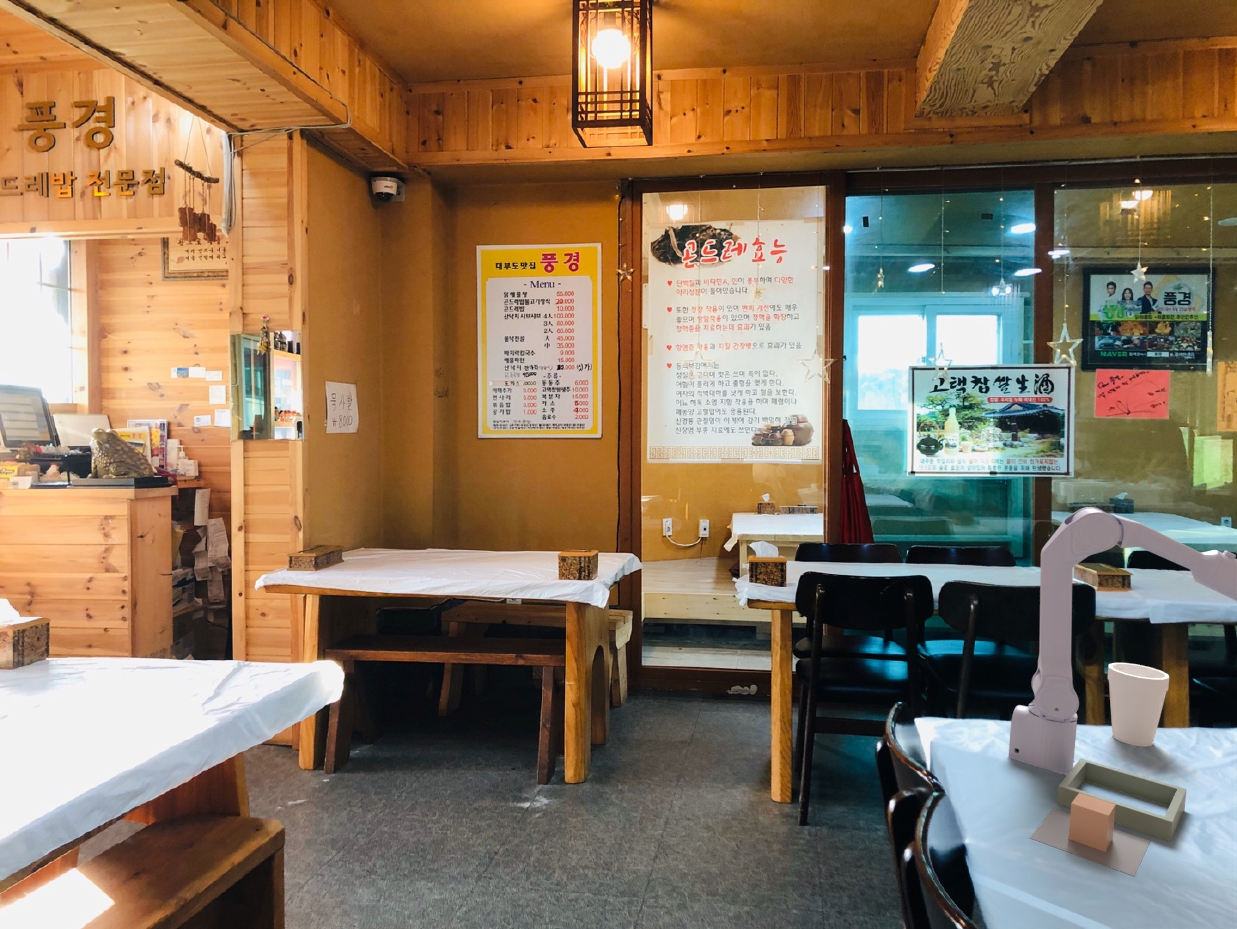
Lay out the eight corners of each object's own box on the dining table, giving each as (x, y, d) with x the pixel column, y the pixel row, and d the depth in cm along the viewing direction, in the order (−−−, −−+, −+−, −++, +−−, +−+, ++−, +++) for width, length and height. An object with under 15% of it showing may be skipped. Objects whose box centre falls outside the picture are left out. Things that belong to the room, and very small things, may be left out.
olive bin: (1056, 808, 116) (1058, 785, 116) (1079, 779, 126) (1080, 758, 126) (1170, 846, 106) (1172, 822, 106) (1184, 811, 117) (1186, 789, 116)
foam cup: (1154, 734, 147) (1159, 667, 146) (1170, 754, 138) (1177, 682, 137) (1096, 726, 150) (1102, 660, 149) (1109, 744, 141) (1115, 674, 140)
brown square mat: (1029, 843, 106) (1029, 838, 106) (1052, 813, 114) (1053, 808, 114) (1133, 882, 97) (1134, 876, 97) (1150, 846, 106) (1150, 840, 106)
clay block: (1068, 838, 106) (1071, 803, 105) (1076, 827, 109) (1079, 792, 109) (1105, 852, 103) (1108, 815, 102) (1112, 839, 106) (1115, 804, 106)
